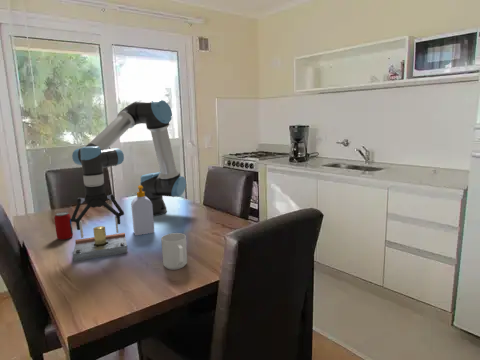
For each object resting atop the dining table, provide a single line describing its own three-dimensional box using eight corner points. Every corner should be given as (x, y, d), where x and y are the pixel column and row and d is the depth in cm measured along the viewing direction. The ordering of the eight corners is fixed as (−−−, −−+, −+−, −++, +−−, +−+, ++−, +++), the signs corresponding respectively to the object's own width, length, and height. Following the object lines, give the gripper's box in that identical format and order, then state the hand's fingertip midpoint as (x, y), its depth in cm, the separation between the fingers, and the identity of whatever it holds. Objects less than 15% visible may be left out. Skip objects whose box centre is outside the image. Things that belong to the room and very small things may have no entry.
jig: (125, 241, 150) (124, 232, 149) (127, 252, 137) (126, 243, 136) (76, 248, 142) (75, 239, 142) (74, 261, 130) (72, 251, 129)
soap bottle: (152, 228, 166) (148, 183, 162) (154, 232, 160) (150, 186, 155) (133, 231, 163) (129, 185, 158) (135, 235, 156) (130, 188, 152)
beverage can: (76, 236, 158) (73, 211, 155) (64, 241, 151) (61, 216, 149) (65, 234, 160) (62, 210, 158) (53, 239, 154) (50, 214, 151)
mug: (160, 263, 126) (158, 236, 123) (182, 258, 130) (180, 231, 128) (170, 276, 115) (168, 246, 113) (194, 269, 120) (192, 240, 118)
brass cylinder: (107, 247, 143) (104, 225, 141) (107, 251, 138) (105, 228, 137) (96, 249, 141) (93, 227, 139) (95, 253, 137) (93, 230, 135)
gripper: (126, 180, 142) (130, 227, 146) (61, 186, 133) (67, 236, 137) (127, 183, 135) (132, 232, 140) (58, 189, 126) (65, 242, 130)
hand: (100, 234), depth 138 cm, fingers open, 13 cm apart
